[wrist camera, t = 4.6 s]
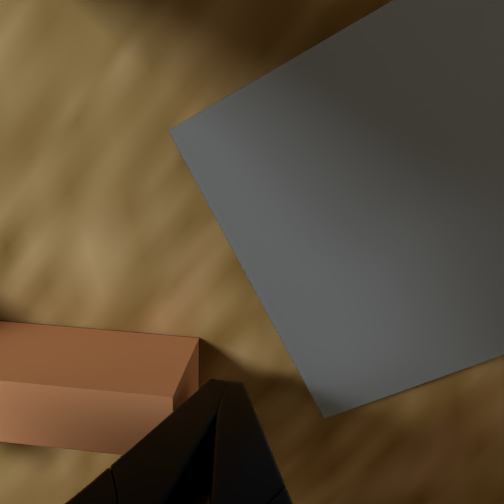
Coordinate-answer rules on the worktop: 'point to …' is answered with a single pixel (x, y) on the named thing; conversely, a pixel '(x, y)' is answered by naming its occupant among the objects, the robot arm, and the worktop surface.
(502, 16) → the mat
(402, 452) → the worktop surface
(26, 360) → the hammer handle
